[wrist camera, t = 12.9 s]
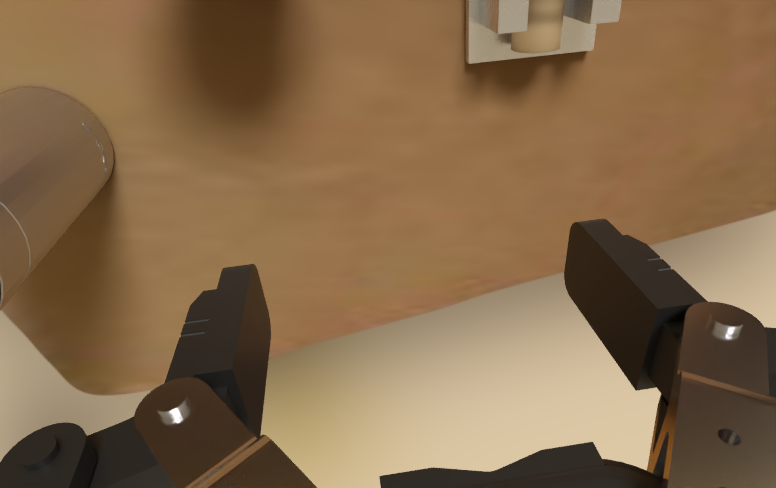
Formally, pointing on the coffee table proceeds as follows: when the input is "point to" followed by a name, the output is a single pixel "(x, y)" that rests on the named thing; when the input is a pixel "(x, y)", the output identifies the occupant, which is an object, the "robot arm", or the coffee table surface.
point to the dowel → (540, 28)
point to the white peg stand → (510, 14)
